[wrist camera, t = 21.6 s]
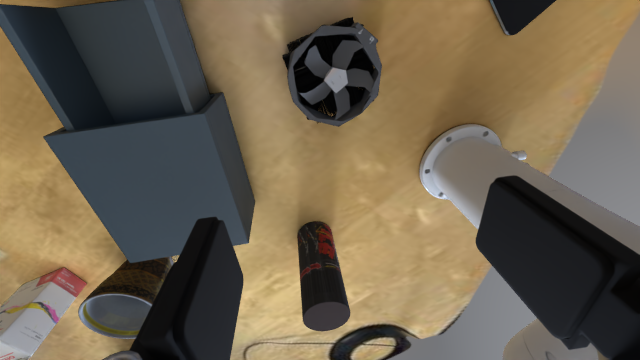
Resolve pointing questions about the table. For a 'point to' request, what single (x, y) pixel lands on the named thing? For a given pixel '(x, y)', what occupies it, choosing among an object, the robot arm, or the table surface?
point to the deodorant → (321, 279)
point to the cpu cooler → (334, 72)
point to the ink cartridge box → (35, 312)
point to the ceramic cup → (124, 298)
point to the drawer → (109, 60)
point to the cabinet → (161, 178)
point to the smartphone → (518, 13)
